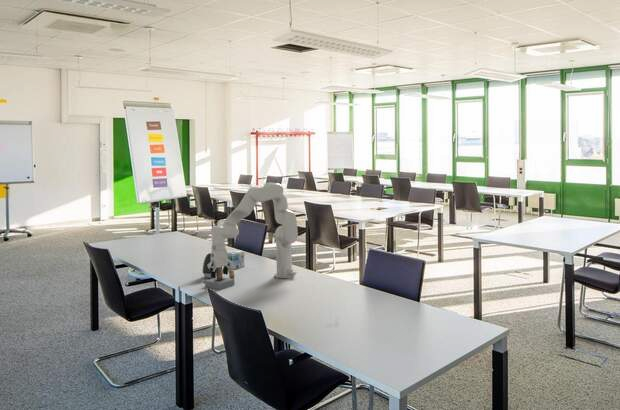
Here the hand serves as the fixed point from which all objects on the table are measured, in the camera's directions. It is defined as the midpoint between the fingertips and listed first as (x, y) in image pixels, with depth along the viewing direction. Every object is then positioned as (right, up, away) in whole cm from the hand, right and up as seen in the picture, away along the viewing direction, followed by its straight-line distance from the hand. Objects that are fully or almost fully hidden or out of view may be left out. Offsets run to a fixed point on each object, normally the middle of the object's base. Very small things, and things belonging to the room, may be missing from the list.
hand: (219, 276), depth 287 cm
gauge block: (0, -6, +1) cm, 6 cm away
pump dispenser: (-9, -4, +21) cm, 23 cm away
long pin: (0, -6, +1) cm, 6 cm away
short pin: (+4, -4, +17) cm, 18 cm away
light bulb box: (+3, -1, +45) cm, 45 cm away
